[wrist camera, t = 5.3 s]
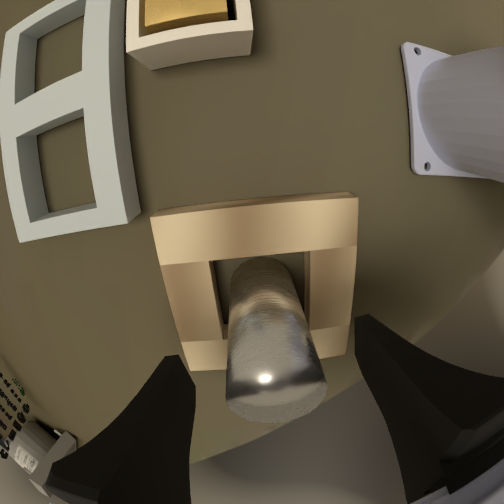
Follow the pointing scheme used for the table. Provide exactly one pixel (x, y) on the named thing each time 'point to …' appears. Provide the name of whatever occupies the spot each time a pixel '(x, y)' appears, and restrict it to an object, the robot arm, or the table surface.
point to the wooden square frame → (257, 244)
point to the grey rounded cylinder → (270, 347)
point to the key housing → (188, 38)
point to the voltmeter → (34, 445)
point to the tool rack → (68, 119)
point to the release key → (182, 13)
